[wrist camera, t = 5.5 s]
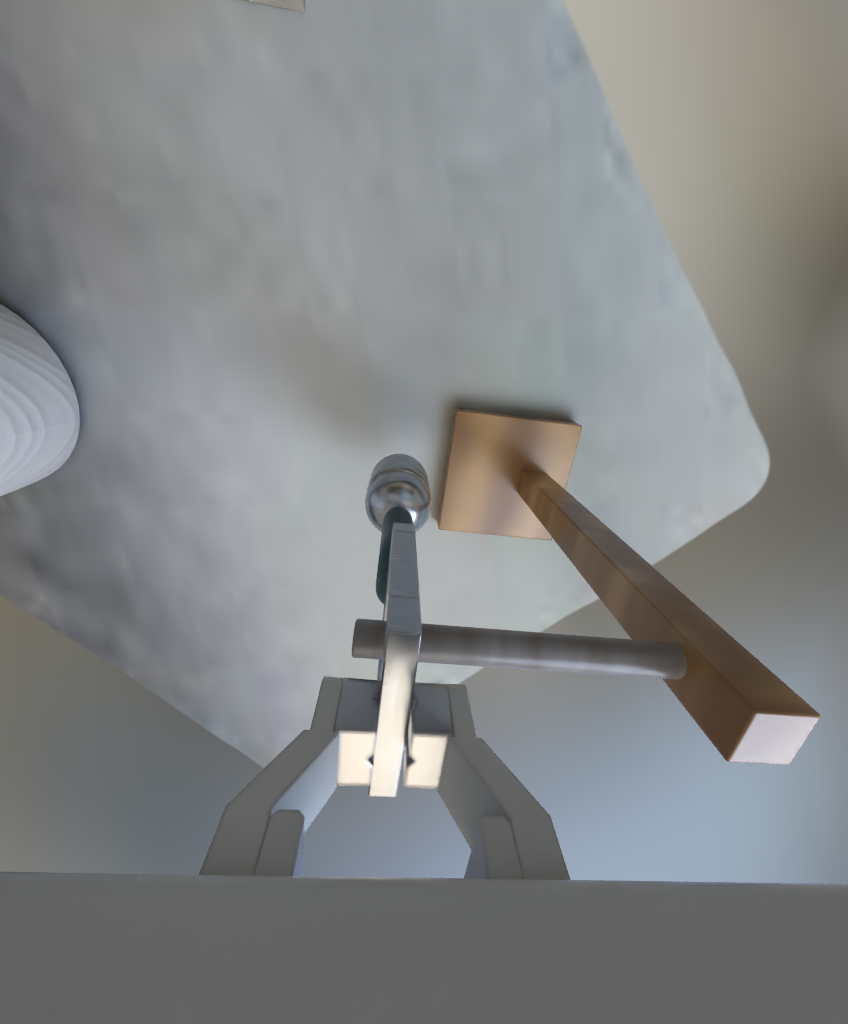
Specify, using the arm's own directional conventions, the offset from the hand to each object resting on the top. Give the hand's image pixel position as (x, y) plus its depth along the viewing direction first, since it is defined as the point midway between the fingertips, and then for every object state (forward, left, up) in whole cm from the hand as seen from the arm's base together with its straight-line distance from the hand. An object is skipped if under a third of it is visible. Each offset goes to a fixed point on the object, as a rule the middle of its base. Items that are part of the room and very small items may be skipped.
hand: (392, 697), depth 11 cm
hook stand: (+6, 0, -24) cm, 25 cm away
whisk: (0, 0, -21) cm, 21 cm away
